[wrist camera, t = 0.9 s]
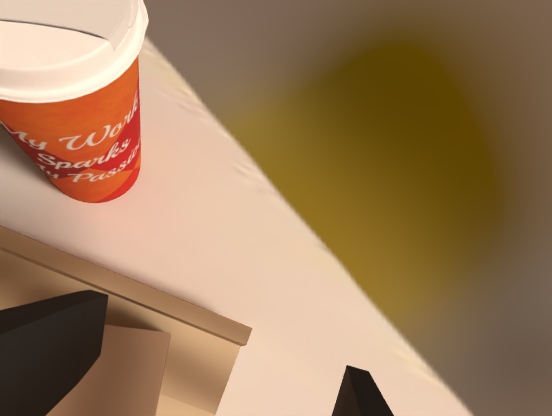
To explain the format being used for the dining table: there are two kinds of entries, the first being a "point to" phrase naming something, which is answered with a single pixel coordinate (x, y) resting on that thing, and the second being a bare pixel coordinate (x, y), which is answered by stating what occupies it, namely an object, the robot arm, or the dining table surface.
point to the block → (121, 376)
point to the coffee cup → (74, 90)
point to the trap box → (132, 319)
